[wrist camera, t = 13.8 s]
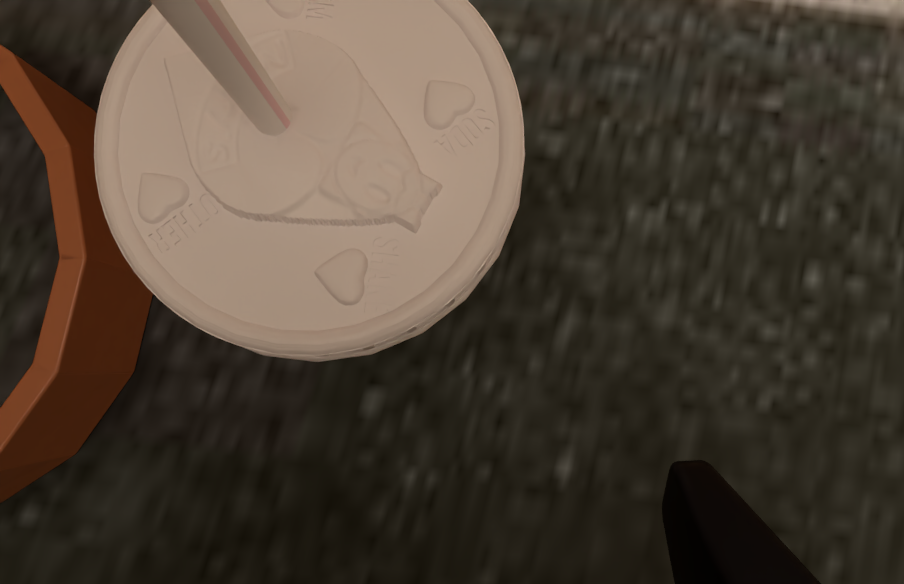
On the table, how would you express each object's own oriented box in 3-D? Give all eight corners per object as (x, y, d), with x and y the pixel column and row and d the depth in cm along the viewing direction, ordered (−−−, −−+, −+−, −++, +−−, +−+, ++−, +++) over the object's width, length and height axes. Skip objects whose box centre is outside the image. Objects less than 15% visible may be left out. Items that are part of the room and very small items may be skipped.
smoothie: (335, 87, 21) (100, -448, 7) (540, 200, 21) (703, -137, 7) (213, 289, 21) (-288, 127, 7) (421, 409, 20) (342, 497, 6)
